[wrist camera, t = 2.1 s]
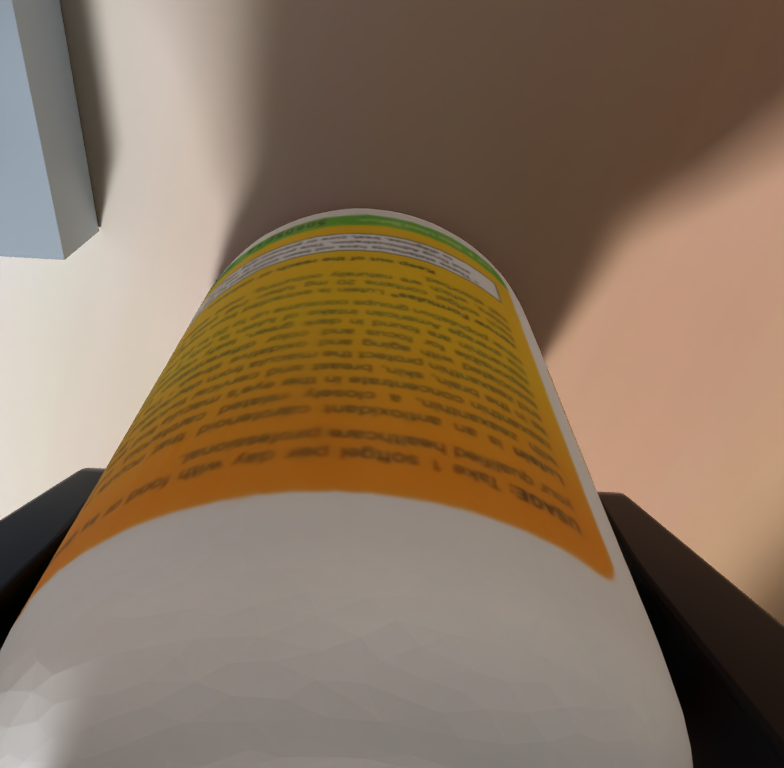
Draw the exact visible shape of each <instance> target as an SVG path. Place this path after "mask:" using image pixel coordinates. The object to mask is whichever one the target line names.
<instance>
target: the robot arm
mask: <svg viewBox="0 0 784 768" xmlns="http://www.w3.org/2000/svg"><path fill="white" fill-rule="evenodd" d="M104 471H105V469H102V468H84V469H82V470H80V471H78V472H76V473H74V474H73V475H71V476H70V477H68V478H66V479H65V480H63V481H62V482H60V483H59V484H57V485H55V486H54V487H52V488H51V489H49V490H47V491H46V492H44V493H43V494H41V495H40V496H38V497H36V498H35V499H33V500H32V501H30V502H28V503H27V504H25V505H24V506H22V507H21V508H19V509H17V510H16V511H14V512H13V513H11V514H9V515H8V516H6V517H5V518H3V519H2V520H0V650H1V648H2V646H3V644H4V642H5V640H6V638H7V636H8V634H9V632H10V630H11V628H12V626H13V625H14V623H15V621H16V620H17V618H18V616H19V614H20V613H21V611H22V609H23V608H24V606H25V604H26V603H27V601H28V599H29V598H30V596H31V594H32V592H33V591H34V589H35V587H36V586H37V584H38V582H39V581H40V579H41V577H42V576H43V574H44V572H45V570H46V569H47V567H48V565H49V564H50V562H51V560H52V559H53V557H54V555H55V553H56V552H57V550H58V548H59V547H60V545H61V543H62V542H63V540H64V538H65V536H66V535H67V533H68V531H69V530H70V528H71V526H72V525H73V523H74V521H75V519H76V518H77V516H78V514H79V513H80V511H81V509H82V508H83V506H84V504H85V503H86V501H87V499H88V498H89V496H90V494H91V493H92V491H93V489H94V488H95V486H96V484H97V483H98V481H99V479H100V478H101V476H102V474H103V473H104ZM597 493H598V495H599V498H600V500H601V503H602V505H603V508H604V510H605V512H606V515H607V517H608V520H609V522H610V525H611V527H612V530H613V532H614V535H615V537H616V540H617V542H618V545H619V547H620V549H621V552H622V554H623V557H624V559H625V562H626V564H627V566H628V569H629V571H630V573H631V576H632V578H633V581H634V583H635V586H636V588H637V591H638V594H639V596H640V599H641V601H642V603H643V606H644V608H645V611H646V613H647V615H648V618H649V620H650V623H651V625H652V628H653V630H654V633H655V636H656V638H657V641H658V643H659V646H660V648H661V651H662V654H663V657H664V660H665V662H666V665H667V668H668V671H669V674H670V677H671V680H672V683H673V686H674V688H675V691H676V694H677V697H678V700H679V703H680V706H681V709H682V712H683V715H684V720H685V724H686V729H687V733H688V737H689V742H690V746H691V753H692V761H693V768H784V626H783V625H782V624H781V623H779V622H778V621H777V620H776V619H775V618H773V617H772V616H771V615H770V614H769V613H767V612H766V611H765V610H764V609H762V608H761V607H760V606H759V605H758V604H756V603H755V602H754V601H753V600H752V599H750V598H749V597H748V596H747V595H746V594H744V593H743V592H742V591H741V590H740V589H738V588H737V587H736V586H735V585H733V584H732V583H731V582H730V581H729V580H727V579H726V578H725V577H724V576H723V575H721V574H720V573H719V572H718V571H717V570H715V569H714V568H713V567H712V566H711V565H709V564H708V563H707V562H706V561H704V560H703V559H702V558H701V557H700V556H698V555H697V554H696V553H695V552H694V551H692V550H691V549H690V548H689V547H688V546H686V545H685V544H684V543H683V542H682V541H680V540H679V539H678V538H677V537H676V536H674V535H673V534H672V533H671V532H669V531H668V530H667V529H666V528H665V527H663V526H662V525H661V524H660V523H659V522H657V521H656V520H655V519H654V518H653V517H651V516H650V515H649V514H648V513H647V512H645V511H644V510H643V509H642V508H640V507H639V506H638V505H637V504H636V503H634V502H633V501H632V500H631V499H630V498H628V497H627V496H625V495H624V494H622V493H614V492H597Z"/></svg>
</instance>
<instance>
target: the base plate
mask: <svg viewBox="0 0 784 768" xmlns="http://www.w3.org/2000/svg"><path fill="white" fill-rule="evenodd" d="M98 231H99V229H98V223H97V217H96V211H95V205H94V199H93V194H92V188H91V182H90V176H89V170H88V164H87V158H86V153H85V147H84V141H83V135H82V129H81V123H80V117H79V112H78V106H77V100H76V94H75V88H74V82H73V77H72V71H71V65H70V59H69V53H68V47H67V41H66V36H65V30H64V24H63V18H62V12H61V6H60V0H0V256H6V257H24V258H41V259H59V260H65V259H66V258H67V257H68V256H70V255H71V254H72V253H73V252H74V251H76V250H77V249H78V248H79V247H80V246H82V245H83V244H84V243H85V242H86V241H88V240H89V239H90V238H91V237H92V236H94V235H95V234H96V233H97V232H98Z"/></svg>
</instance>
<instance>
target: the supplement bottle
mask: <svg viewBox="0 0 784 768" xmlns="http://www.w3.org/2000/svg"><path fill="white" fill-rule="evenodd" d="M0 768H693V761H692V753H691V746H690V742H689V737H688V733H687V729H686V724H685V720H684V715H683V712H682V709H681V706H680V703H679V700H678V697H677V694H676V691H675V688H674V686H673V683H672V680H671V677H670V674H669V671H668V668H667V665H666V662H665V660H664V657H663V654H662V651H661V648H660V646H659V643H658V641H657V638H656V636H655V633H654V630H653V628H652V625H651V623H650V620H649V618H648V615H647V613H646V611H645V608H644V606H643V603H642V601H641V599H640V596H639V594H638V591H637V588H636V586H635V583H634V581H633V578H632V576H631V573H630V571H629V569H628V566H627V564H626V562H625V559H624V557H623V554H622V552H621V549H620V547H619V545H618V542H617V540H616V537H615V535H614V532H613V530H612V527H611V525H610V522H609V520H608V517H607V515H606V512H605V510H604V508H603V505H602V503H601V500H600V498H599V495H598V493H597V490H596V488H595V485H594V483H593V481H592V478H591V476H590V473H589V471H588V468H587V466H586V463H585V461H584V458H583V456H582V453H581V451H580V449H579V446H578V444H577V441H576V439H575V436H574V434H573V431H572V429H571V426H570V424H569V421H568V419H567V416H566V414H565V411H564V409H563V406H562V404H561V401H560V399H559V396H558V394H557V391H556V389H555V386H554V383H553V381H552V378H551V376H550V374H549V371H548V369H547V366H546V364H545V362H544V359H543V356H542V354H541V351H540V349H539V346H538V344H537V342H536V339H535V337H534V335H533V332H532V330H531V327H530V325H529V323H528V320H527V318H526V315H525V313H524V311H523V309H522V307H521V305H520V303H519V301H518V299H517V298H516V296H515V294H514V292H513V291H512V289H511V287H510V285H509V284H508V283H507V281H506V280H505V278H504V277H503V276H502V274H501V273H500V272H499V271H498V270H497V269H496V268H495V267H494V266H493V264H492V263H491V262H490V261H489V260H488V259H487V258H485V257H484V256H483V255H482V254H481V253H480V252H479V251H477V250H476V249H475V248H473V247H472V246H471V245H470V244H468V243H467V242H465V241H464V240H463V239H461V238H459V237H458V236H456V235H454V234H452V233H451V232H449V231H447V230H445V229H443V228H441V227H440V226H437V225H435V224H433V223H431V222H428V221H425V220H423V219H420V218H417V217H414V216H411V215H407V214H403V213H398V212H393V211H387V210H378V209H369V208H352V209H341V210H334V211H328V212H323V213H318V214H314V215H311V216H308V217H304V218H301V219H298V220H295V221H293V222H290V223H288V224H285V225H283V226H281V227H279V228H277V229H275V230H273V231H271V232H269V233H268V234H266V235H264V236H263V237H261V238H260V239H258V240H257V241H255V242H254V243H253V244H252V245H250V246H249V247H248V248H246V249H245V250H244V251H243V252H242V253H241V254H240V255H239V256H238V257H236V258H235V259H234V261H233V262H232V263H231V264H230V265H229V266H228V267H227V268H226V269H225V270H224V272H223V273H222V275H221V276H220V277H219V279H218V280H217V281H216V282H215V284H214V285H213V287H212V288H211V290H210V291H209V292H208V294H207V296H206V297H205V299H204V301H203V302H202V304H201V306H200V307H199V309H198V311H197V313H196V314H195V316H194V318H193V319H192V321H191V323H190V325H189V327H188V328H187V330H186V332H185V334H184V336H183V337H182V339H181V340H180V342H179V344H178V346H177V347H176V349H175V351H174V353H173V354H172V356H171V358H170V360H169V362H168V363H167V365H166V367H165V369H164V370H163V372H162V373H161V375H160V377H159V378H158V380H157V382H156V383H155V385H154V387H153V389H152V390H151V392H150V394H149V395H148V397H147V399H146V401H145V402H144V404H143V406H142V408H141V409H140V411H139V413H138V414H137V416H136V418H135V420H134V421H133V423H132V425H131V426H130V428H129V430H128V432H127V433H126V435H125V437H124V438H123V440H122V442H121V444H120V445H119V447H118V449H117V450H116V452H115V454H114V456H113V457H112V459H111V461H110V462H109V464H108V466H107V468H106V469H105V471H104V473H103V474H102V476H101V478H100V479H99V481H98V483H97V484H96V486H95V488H94V489H93V491H92V493H91V494H90V496H89V498H88V499H87V501H86V503H85V504H84V506H83V508H82V509H81V511H80V513H79V514H78V516H77V518H76V519H75V521H74V523H73V525H72V526H71V528H70V530H69V531H68V533H67V535H66V536H65V538H64V540H63V542H62V543H61V545H60V547H59V548H58V550H57V552H56V553H55V555H54V557H53V559H52V560H51V562H50V564H49V565H48V567H47V569H46V570H45V572H44V574H43V576H42V577H41V579H40V581H39V582H38V584H37V586H36V587H35V589H34V591H33V592H32V594H31V596H30V598H29V599H28V601H27V603H26V604H25V606H24V608H23V609H22V611H21V613H20V614H19V616H18V618H17V620H16V621H15V623H14V625H13V626H12V628H11V630H10V632H9V634H8V636H7V638H6V640H5V642H4V644H3V646H2V648H1V650H0Z"/></svg>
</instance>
